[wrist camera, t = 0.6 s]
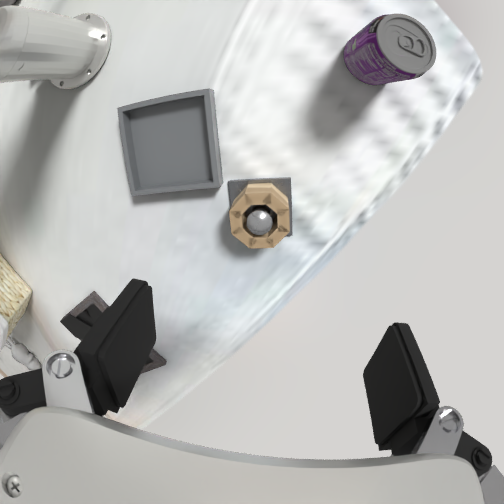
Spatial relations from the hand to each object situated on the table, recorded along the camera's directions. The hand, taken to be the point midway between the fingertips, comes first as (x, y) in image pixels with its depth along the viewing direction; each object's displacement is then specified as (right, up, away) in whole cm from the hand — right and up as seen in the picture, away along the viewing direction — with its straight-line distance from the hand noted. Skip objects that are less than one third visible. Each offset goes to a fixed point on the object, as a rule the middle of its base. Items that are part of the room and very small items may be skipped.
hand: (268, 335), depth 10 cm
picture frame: (-31, -15, +44) cm, 56 cm away
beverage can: (+14, +27, +17) cm, 35 cm away
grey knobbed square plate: (+1, +9, +28) cm, 29 cm away
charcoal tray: (-11, +18, +24) cm, 32 cm away
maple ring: (+1, +9, +27) cm, 29 cm away
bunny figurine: (-73, -28, +54) cm, 95 cm away
